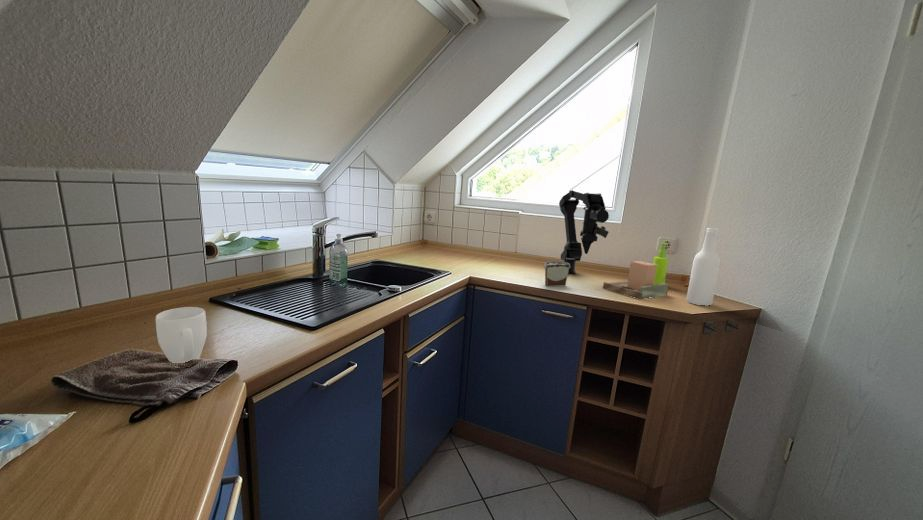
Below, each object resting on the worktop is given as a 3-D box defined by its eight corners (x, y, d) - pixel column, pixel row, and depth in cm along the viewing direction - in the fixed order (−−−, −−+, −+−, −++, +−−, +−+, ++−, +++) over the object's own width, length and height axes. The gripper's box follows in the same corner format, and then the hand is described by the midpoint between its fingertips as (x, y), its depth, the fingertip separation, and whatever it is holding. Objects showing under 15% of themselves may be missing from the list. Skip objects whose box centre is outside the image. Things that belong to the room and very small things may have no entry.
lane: (602, 288, 164) (604, 277, 163) (629, 284, 174) (630, 273, 173) (640, 299, 149) (642, 287, 148) (666, 295, 159) (668, 283, 158)
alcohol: (710, 302, 151) (725, 228, 145) (712, 308, 144) (728, 230, 138) (685, 298, 155) (698, 226, 149) (686, 303, 148) (700, 227, 142)
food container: (560, 282, 171) (563, 260, 169) (568, 285, 165) (571, 263, 163) (536, 282, 167) (538, 260, 165) (543, 286, 161) (546, 263, 159)
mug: (158, 362, 80) (153, 311, 77) (205, 352, 85) (201, 304, 83) (165, 386, 71) (159, 329, 69) (216, 373, 77) (212, 320, 75)
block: (627, 286, 161) (630, 261, 159) (635, 285, 164) (639, 260, 162) (644, 291, 154) (648, 265, 152) (652, 290, 158) (657, 264, 155)
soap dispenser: (666, 285, 177) (673, 243, 173) (661, 287, 172) (669, 244, 168) (652, 282, 181) (659, 241, 177) (648, 284, 176) (655, 242, 172)
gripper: (611, 223, 162) (606, 258, 165) (606, 220, 180) (601, 252, 183) (584, 221, 164) (580, 256, 167) (581, 218, 182) (578, 250, 185)
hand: (586, 253), depth 176 cm, fingers closed
